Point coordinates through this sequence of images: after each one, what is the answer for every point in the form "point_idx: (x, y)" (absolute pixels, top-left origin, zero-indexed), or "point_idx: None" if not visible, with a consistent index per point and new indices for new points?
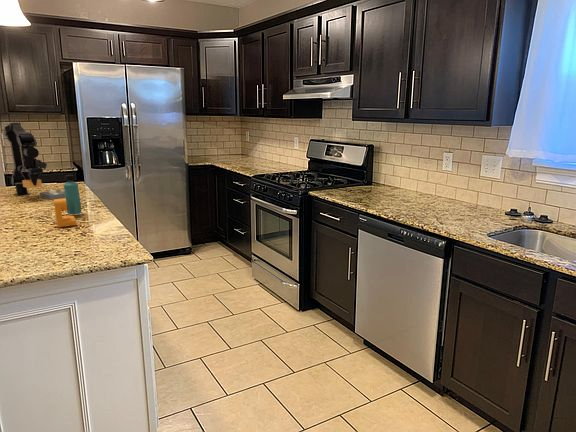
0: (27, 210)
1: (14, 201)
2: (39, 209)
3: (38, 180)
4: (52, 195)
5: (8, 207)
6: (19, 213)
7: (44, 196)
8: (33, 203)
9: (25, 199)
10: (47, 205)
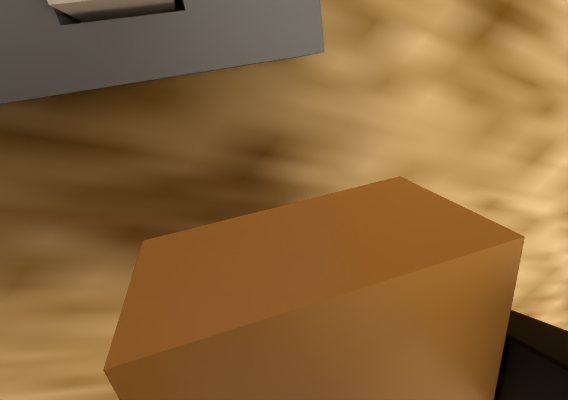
0: (528, 274)
1: None
2: (564, 215)
3: (509, 293)
4: (319, 19)
5: None
6: (552, 308)
7: (122, 84)
8: None
9: (95, 274)
10: (508, 149)
